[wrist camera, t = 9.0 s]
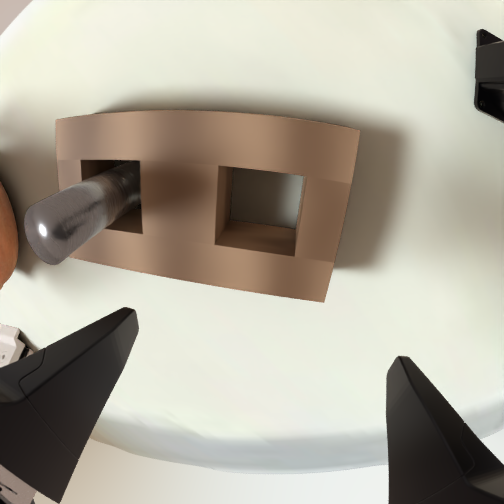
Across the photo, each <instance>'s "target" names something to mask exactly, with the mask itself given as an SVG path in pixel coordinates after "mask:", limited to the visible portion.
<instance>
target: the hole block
mask: <svg viewBox="0 0 504 504" xmlns="http://www.w3.org/2000/svg"><path fill="white" fill-rule="evenodd" d="M359 137H360V130H356V129H353V128H349V127H345V126H340V125H335V124H329V123H323V122H317V121H311V120H304V119H297V118H290V117H282V116H273V115H263V114H253V113H240V112H225V111H202V110H149V111H126V112H112V113H100V114H90V115H82V116H75V117H69V118H63V119H57V120H56V155H57V170H58V182H59V192H60V191H62V190H64V189H66V188H68V187H70V186H72V185H74V184H77V183H79V182H81V181H83V180H86V179H88V178H90V177H92V176H95V175H97V174H100V173H102V172H104V171H107V170H109V169H112V168H114V167H115V166H114V160H140V175H141V207H142V209H135V208H133V209H131V210H130V211H129V212H127V213H126V214H124V215H123V216H121V217H120V218H119V219H117V220H116V221H114V222H113V223H112V224H110V225H109V226H107V227H106V228H105V229H103V230H102V231H101V232H99V233H98V234H96V235H95V236H94V237H92V238H91V239H90V240H88V241H87V242H86V243H85V244H83V245H82V246H81V247H79V248H78V249H77V250H75V251H74V252H73V253H72V254H70V257H71V258H75V259H80V260H84V261H89V262H93V263H98V264H103V265H107V266H112V267H117V268H122V269H127V270H132V271H137V272H142V273H147V274H152V275H157V276H163V277H168V278H173V279H179V280H184V281H190V282H195V283H201V284H207V285H212V286H218V287H224V288H230V289H236V290H242V291H249V292H255V293H261V294H268V295H274V296H281V297H288V298H295V299H302V300H309V301H316V302H324V301H325V297H326V293H327V290H328V286H329V282H330V278H331V274H332V270H333V266H334V262H335V258H336V254H337V250H338V246H339V241H340V237H341V233H342V228H343V224H344V219H345V214H346V209H347V204H348V200H349V194H350V189H351V184H352V179H353V173H354V168H355V162H356V156H357V150H358V143H359ZM233 167H239V168H248V169H256V170H265V171H273V172H280V173H287V174H294V175H301V176H304V178H303V185H302V192H301V198H300V205H299V211H298V218H297V224H296V229H291V228H284V227H277V226H270V225H263V224H256V223H249V222H241V221H234V220H230V207H231V192H232V178H233Z"/></svg>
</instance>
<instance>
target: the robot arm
mask: <svg viewBox="0 0 504 504" xmlns="http://www.w3.org/2000/svg"><path fill="white" fill-rule="evenodd" d="M482 34H483V35H484V37H485V38H484V37H483V36H482ZM475 79H476V85H475V98H474V105H475V108H476V109H477V110H478V111H480V112H482V113H485V114H487V115H489V116H491V117H493V118H495V119H497V120H499V121H501V122H503V123H504V41H503V40H501V39H500V38H498V37H496V36H495V35H493V34H491V33H489V32H488V31H486V30H484V29H480V30H478V31H477V48H476V67H475ZM480 101H481V103H482V107H481V106H480ZM138 331H139V326H138V320H137V314H136V311H135V310H134V309H131V308H127V307H123V308H121V309H119V310H117V311H115V312H113V313H111V314H109V315H107V316H105V317H103V318H101V319H100V320H98V321H96V322H94V323H92V324H90V325H88V326H86V327H84V328H82V329H80V330H78V331H76V332H74V333H72V334H70V335H68V336H66V337H64V338H62V339H60V340H58V341H57V342H55V343H53V344H51V345H49V346H47V347H46V348H43V349H41V350H39V351H37V352H35V353H33V354H31V355H29V356H27V357H25V358H22V359H20V360H18V361H15V362H13V363H10V364H8V365H5V366H3V367H0V504H35V503H34V500H33V497H34V495H35V493H36V491H38V492H40V493H42V494H43V495H45V496H46V497H48V498H50V499H51V500H53V501H55V502H57V503H58V504H59V503H60V502H61V500H62V497H63V495H64V492H65V490H66V488H67V485H68V483H69V481H70V478H71V476H72V474H73V472H74V469H75V467H76V465H77V463H78V459H79V458H80V455H81V453H82V451H83V449H84V447H85V445H86V443H87V440H88V439H89V437H90V434H91V432H92V430H93V428H94V426H95V424H96V422H97V420H98V418H99V416H100V414H101V412H102V410H103V408H104V406H105V404H106V402H107V400H108V398H109V396H110V394H111V392H112V390H113V388H114V386H115V384H116V382H117V381H118V379H119V377H120V375H121V373H122V371H123V369H124V367H125V364H126V362H127V359H128V357H129V354H130V352H131V349H132V347H133V344H134V342H135V339H136V337H137V334H138ZM386 380H387V383H386V423H387V438H388V462H389V504H504V465H503V464H502V463H501V462H500V461H499V460H498V458H496V456H494V454H493V453H492V452H491V451H490V450H489V449H488V448H487V447H486V446H485V445H484V444H483V443H482V442H481V441H480V439H479V438H478V437H477V436H476V435H475V434H474V433H473V431H472V430H471V429H470V428H469V427H468V425H467V424H466V423H464V421H463V419H462V418H461V417H460V416H459V414H458V413H457V412H456V411H455V410H454V408H453V407H452V406H451V405H450V404H449V403H448V401H447V400H446V399H445V398H444V397H443V395H442V394H441V393H440V392H439V391H438V390H437V388H436V387H435V386H434V385H433V384H432V383H431V382H430V380H429V379H428V378H427V377H426V376H425V375H424V373H423V372H422V371H421V370H420V369H419V368H418V367H417V366H416V364H415V363H414V362H413V361H412V360H411V359H410V358H409V357H407V356H398V357H396V359H395V360H394V362H393V364H392V365H391V367H390V369H389V370H388V373H387V378H386Z"/></svg>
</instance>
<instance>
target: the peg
mask: <svg viewBox="0 0 504 504" xmlns="http://www.w3.org/2000/svg"><path fill="white" fill-rule="evenodd" d="M140 203H141V175H140V160H132V161H130V162H127V163H124V164H122V165H119V166H117V167H114V168H112V169H109V170H107V171H104V172H102V173H100V174H97V175H95V176H92V177H90V178H88V179H86V180H83V181H81V182H79V183H77V184H74V185H72V186H70V187H68V188H66V189H64V190H62V191H60V192H57V193H55V194H53V195H51V196H49V197H47V198H45V199H43V200H41V201H39V202H37V203H36V204H34V205H32V206H30V207H29V208H28V210H27V212H26V214H25V219H24V227H25V233H26V237H27V240H28V242H29V244H30V246H31V248H32V249H33V251H34V252H35V254H36V255H37V256H38V257H39V258H40V259H41V260H43V261H44V262H46V263H48V264H52V265H56V264H59V263H60V262H62V261H63V260H64V259H65V258H67V257H68V256H69V255H70V254H72V253H73V252H74V251H75V250H77V249H78V248H79V247H81V246H82V245H83V244H85V243H86V242H87V241H88V240H90V239H91V238H92V237H94V236H95V235H96V234H98V233H99V232H101V231H102V230H103V229H105V228H106V227H107V226H109V225H110V224H112V223H113V222H114V221H116V220H117V219H119V218H120V217H121V216H123V215H124V214H126V213H127V212H129V211H130V210H131V209H133V208H134V207H136V206H137V205H139V204H140Z"/></svg>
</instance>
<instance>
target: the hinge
mask: <svg viewBox="0 0 504 504" xmlns="http://www.w3.org/2000/svg"><path fill="white" fill-rule="evenodd" d="M19 333H20V330H19V328H15V327H11V326H7V325H3V324H0V367H3V366H5V365H8V364H10V363H13V362H15V361H18V360H20V359H22V358H25V357H27V356H29V355H31V354H33V353H34V352H33V351H32V350H31V349H29V348H26V347H25V344H24V343H22V342H21V341H20V340H18V339H17V337H18V335H19Z"/></svg>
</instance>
